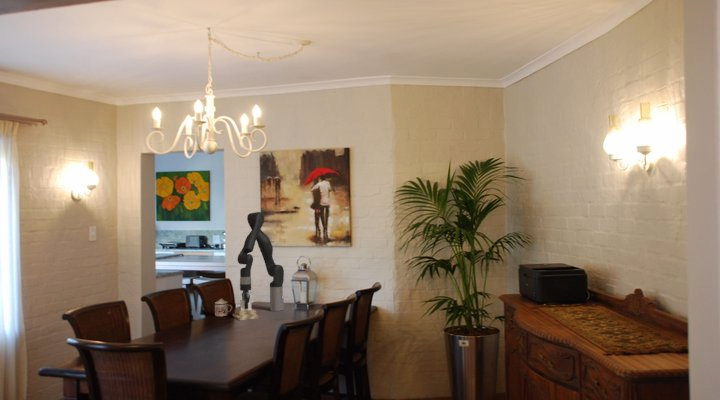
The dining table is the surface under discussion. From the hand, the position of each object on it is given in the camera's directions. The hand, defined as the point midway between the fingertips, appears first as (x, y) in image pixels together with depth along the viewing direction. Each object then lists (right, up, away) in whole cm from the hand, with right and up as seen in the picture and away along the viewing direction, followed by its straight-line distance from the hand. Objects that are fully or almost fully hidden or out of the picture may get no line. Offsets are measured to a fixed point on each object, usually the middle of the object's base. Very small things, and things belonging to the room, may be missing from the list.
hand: (245, 308), depth 386 cm
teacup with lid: (-17, -7, +9) cm, 21 cm away
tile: (0, -4, 0) cm, 4 cm away
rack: (0, -6, 0) cm, 6 cm away
